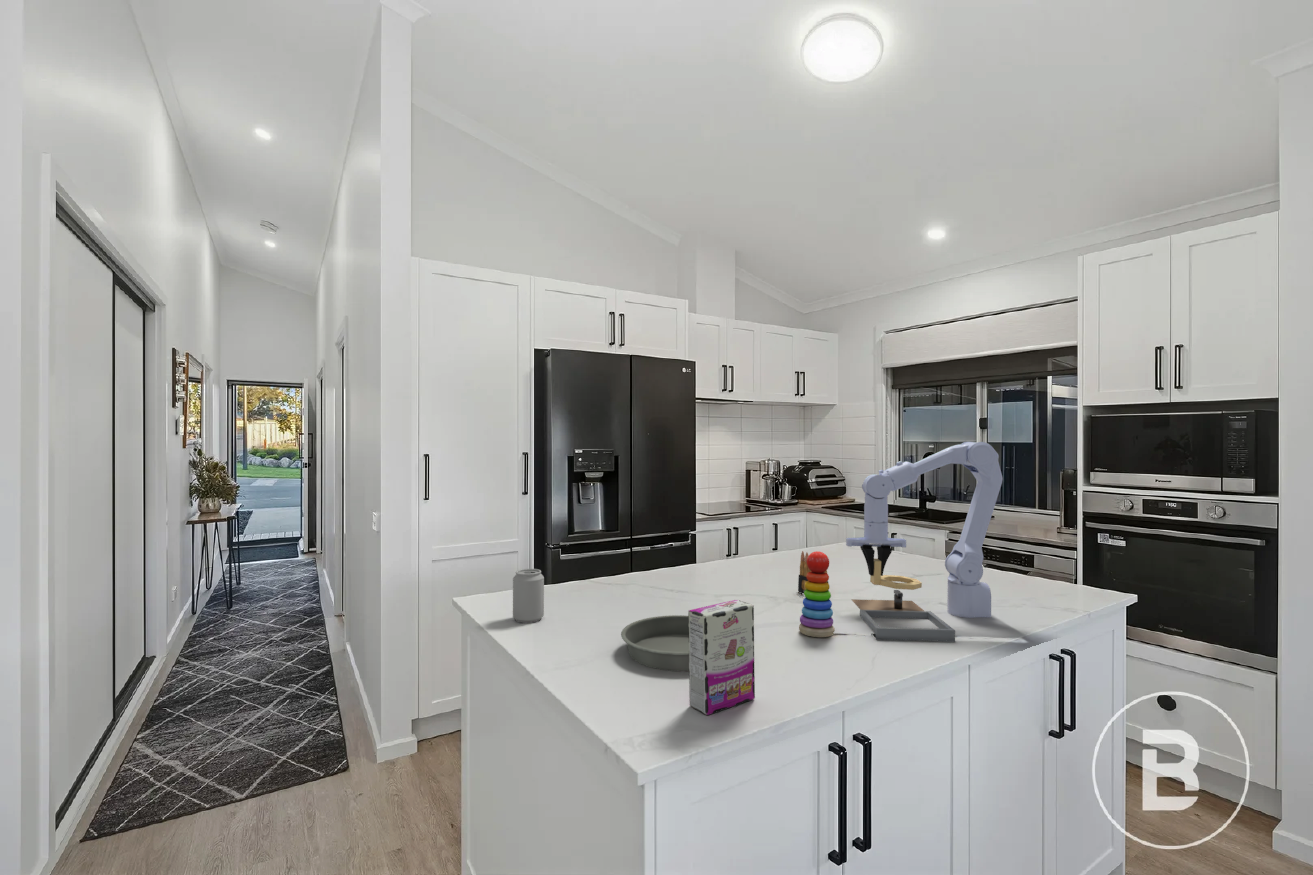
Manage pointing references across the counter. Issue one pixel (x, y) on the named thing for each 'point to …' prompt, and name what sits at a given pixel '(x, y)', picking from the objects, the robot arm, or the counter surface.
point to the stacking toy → (817, 599)
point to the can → (528, 595)
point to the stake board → (885, 605)
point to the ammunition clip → (803, 573)
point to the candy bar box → (721, 656)
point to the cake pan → (659, 642)
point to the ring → (893, 579)
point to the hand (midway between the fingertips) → (875, 574)
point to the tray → (908, 633)
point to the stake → (898, 599)
